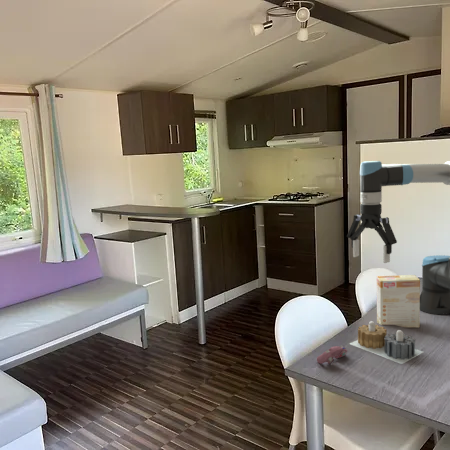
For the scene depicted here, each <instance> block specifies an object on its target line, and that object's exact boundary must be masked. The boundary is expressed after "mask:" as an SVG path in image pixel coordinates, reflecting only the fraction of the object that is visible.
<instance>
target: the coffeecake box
mask: <svg viewBox="0 0 450 450" xmlns="http://www.w3.org/2000/svg"><path fill="white" fill-rule="evenodd" d="M420 294H421V279H419V278H418V277H417V275H415V274H406V275H405V274H403V275H402V274H400V275H398V274H397V275H377V276H376V323H377V325H381V326H382V325H385V326H386V325H387V326H390V325H392V326H398V327H401V328H404V329H405V328H420V322H421V321H420V317H421V316H420V315H421V313H420V311H421V310H420Z"/></svg>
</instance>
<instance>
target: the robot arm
mask: <svg viewBox="0 0 450 450" xmlns="http://www.w3.org/2000/svg"><path fill="white" fill-rule="evenodd" d="M411 183H412V184H413V183H415V184H417V183H418V184H419V183H421V184H422V183H426V184H428V183H435V184H436V183H443V185H446V186H448V185H449V186H450V161H449V160H447V161H445V162H444V163H386V164H385V163H382V161H380V160H370V161H369V160H368V161H367V160H366V161H362V162H361V163H360V167H359V187H360V188H359V192H360V193H359V194H360V195H359V197H360V198H359V202H360V205H359V209H360V210H359V213H360V214H354V215H353V220H352V223H351V225H350V227H349V230H348V232H347V235H346V238H349V239H350V240H351V248H352V257H353V258H357V257H359V256H360V240H359V237H360V236H361V234H362V233H363V231H365V229H371V230H372V229H373V230H374V231H376V232H377V234H378V235H379V237H380V239H381V240H382V241H383V243H384V245H383V263H384V264H387V263H390V261H391V254H392V252H393V251H392V249H393V247H392V246H393V245H395V244H397V243H398V240H397V238H396V235H395V234H394V232H393V229H392V225H390V218H389V217H382V215H381V214H382V213H383V212H382V207H383V206H382V201H383V200H382V199H383V197H382V196H383V195H382V193H383V192H382V189H383V187H391V186H404V185H409V184H411ZM360 221H361V223H360ZM359 223H360V224H359ZM421 266H422V271H421V272H422V273H421V274H422V277H421V279H422V280H421V287H422V289H421V291H420V311H422V312H424V313H428V314H432V315H450V255H445V254H444V255H443V254H441V255H439V254H438V255H428V256H425V257H424V258H423V259H422V264H421Z"/></svg>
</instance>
